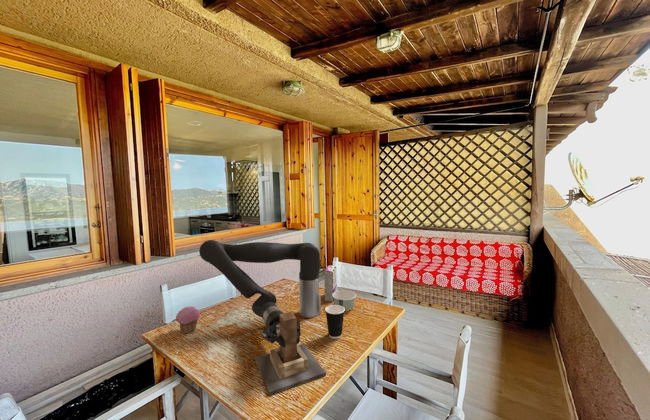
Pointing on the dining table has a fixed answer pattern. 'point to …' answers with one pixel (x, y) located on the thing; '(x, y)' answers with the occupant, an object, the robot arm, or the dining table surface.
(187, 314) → the cupcake
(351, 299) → the food container
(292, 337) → the walnut slat
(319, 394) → the dining table surface
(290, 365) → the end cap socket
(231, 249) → the robot arm
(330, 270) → the candy bar box
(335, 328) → the dixie cup
